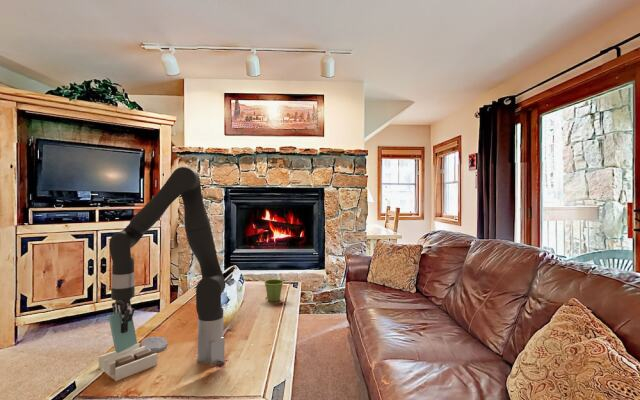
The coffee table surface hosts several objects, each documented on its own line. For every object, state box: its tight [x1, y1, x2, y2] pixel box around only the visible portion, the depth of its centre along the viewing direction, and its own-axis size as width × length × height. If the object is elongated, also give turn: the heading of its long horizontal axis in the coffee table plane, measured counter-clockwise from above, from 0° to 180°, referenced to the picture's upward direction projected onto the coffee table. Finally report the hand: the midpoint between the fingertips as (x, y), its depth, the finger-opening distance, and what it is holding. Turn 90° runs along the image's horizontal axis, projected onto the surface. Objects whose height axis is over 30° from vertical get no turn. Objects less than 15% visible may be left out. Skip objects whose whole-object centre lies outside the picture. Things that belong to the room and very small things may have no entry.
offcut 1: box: [115, 355, 135, 368], centre depth 119 cm, size 3×5×5 cm, turn 143°
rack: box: [98, 342, 158, 382], centre depth 124 cm, size 14×14×6 cm
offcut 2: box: [134, 349, 153, 361], centre depth 123 cm, size 3×5×5 cm, turn 143°
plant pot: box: [263, 278, 285, 303], centre depth 207 cm, size 12×12×11 cm
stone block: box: [140, 336, 169, 354], centre depth 139 cm, size 12×5×10 cm
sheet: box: [108, 312, 138, 353], centre depth 126 cm, size 2×7×14 cm, turn 143°
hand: (122, 331), depth 126 cm, fingers closed on sheet, 2 cm apart
